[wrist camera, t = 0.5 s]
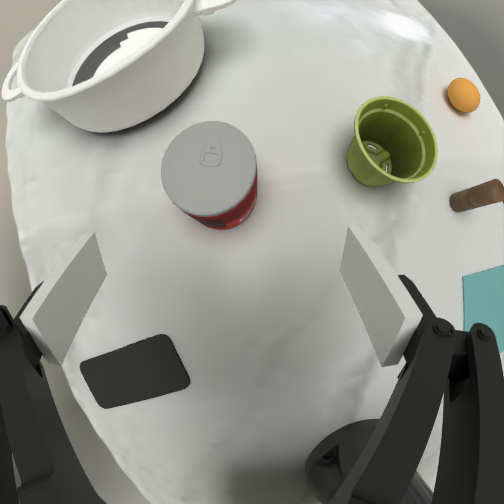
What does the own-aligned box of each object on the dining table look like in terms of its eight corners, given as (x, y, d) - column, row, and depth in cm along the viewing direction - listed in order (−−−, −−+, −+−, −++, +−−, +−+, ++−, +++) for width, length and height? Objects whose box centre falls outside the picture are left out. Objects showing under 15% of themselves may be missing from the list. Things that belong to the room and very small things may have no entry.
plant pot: (338, 120, 33) (358, 83, 24) (404, 141, 33) (437, 114, 24) (327, 188, 33) (349, 165, 24) (398, 208, 32) (436, 194, 24)
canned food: (253, 159, 33) (251, 115, 22) (260, 227, 33) (261, 210, 22) (188, 166, 33) (159, 127, 22) (192, 234, 33) (161, 221, 22)
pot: (43, 181, 33) (-22, 157, 20) (50, 68, 34) (9, 30, 21) (267, 102, 33) (271, 29, 19) (227, -1, 34) (220, -62, 20)
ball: (472, 119, 32) (491, 106, 27) (449, 116, 33) (468, 101, 27) (460, 90, 33) (477, 75, 27) (437, 85, 33) (453, 69, 27)
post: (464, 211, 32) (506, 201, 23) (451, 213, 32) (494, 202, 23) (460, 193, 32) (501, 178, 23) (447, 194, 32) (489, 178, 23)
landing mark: (516, 343, 31) (516, 343, 31) (461, 370, 31) (462, 371, 31) (517, 260, 32) (517, 260, 31) (462, 276, 32) (463, 276, 32)
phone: (76, 363, 32) (165, 331, 32) (79, 361, 33) (168, 330, 33) (101, 410, 32) (192, 386, 32) (103, 407, 33) (194, 384, 33)
